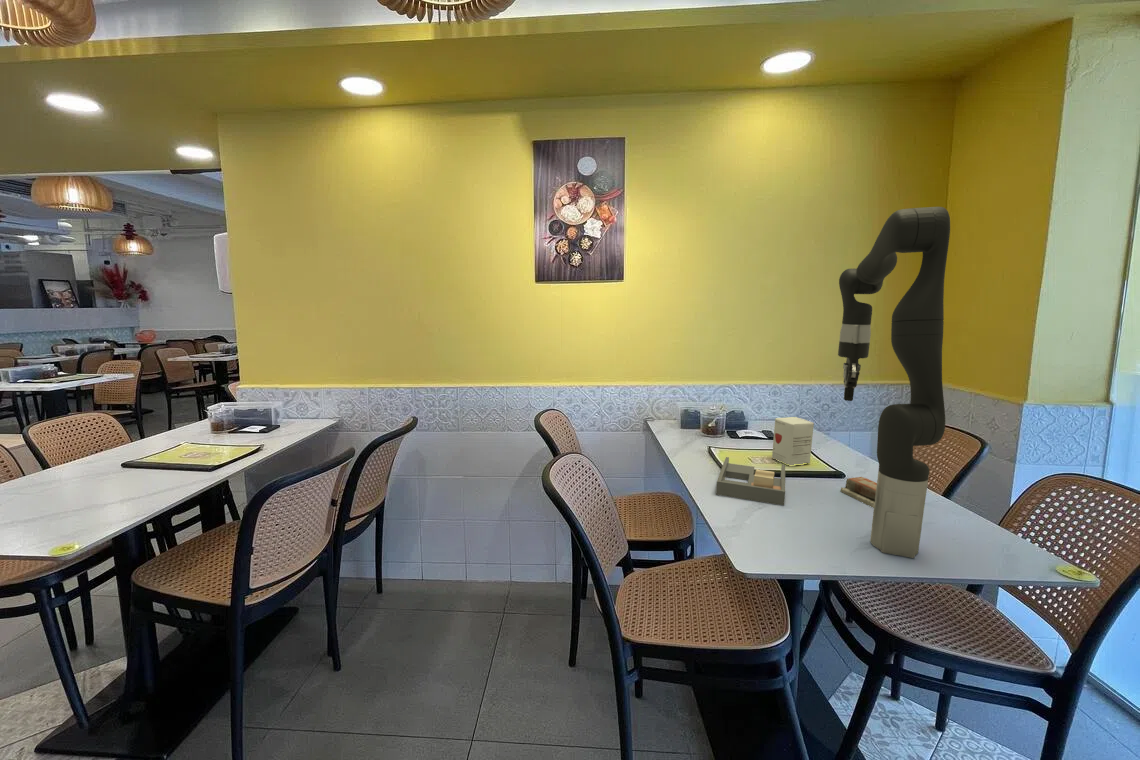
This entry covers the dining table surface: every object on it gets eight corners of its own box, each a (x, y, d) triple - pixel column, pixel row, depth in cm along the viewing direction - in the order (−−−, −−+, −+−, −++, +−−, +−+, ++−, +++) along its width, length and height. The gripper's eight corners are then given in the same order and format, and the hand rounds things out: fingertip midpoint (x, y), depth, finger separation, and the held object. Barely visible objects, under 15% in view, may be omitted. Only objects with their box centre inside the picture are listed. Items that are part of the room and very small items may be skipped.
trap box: (784, 505, 133) (785, 491, 132) (715, 494, 140) (716, 481, 139) (784, 476, 155) (785, 464, 154) (725, 468, 162) (725, 457, 161)
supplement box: (770, 459, 172) (774, 417, 170) (791, 456, 175) (795, 416, 172) (789, 467, 164) (793, 424, 161) (810, 464, 166) (814, 422, 164)
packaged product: (840, 476, 143) (867, 474, 145) (838, 492, 144) (865, 489, 146) (894, 501, 126) (924, 497, 128) (892, 519, 127) (922, 515, 129)
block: (772, 492, 137) (773, 478, 136) (753, 489, 139) (754, 475, 138) (773, 485, 142) (774, 472, 142) (755, 482, 144) (756, 469, 144)
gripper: (837, 338, 145) (831, 395, 148) (841, 341, 133) (835, 403, 136) (866, 339, 142) (859, 397, 145) (873, 342, 130) (866, 406, 133)
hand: (848, 400), depth 141 cm, fingers closed
